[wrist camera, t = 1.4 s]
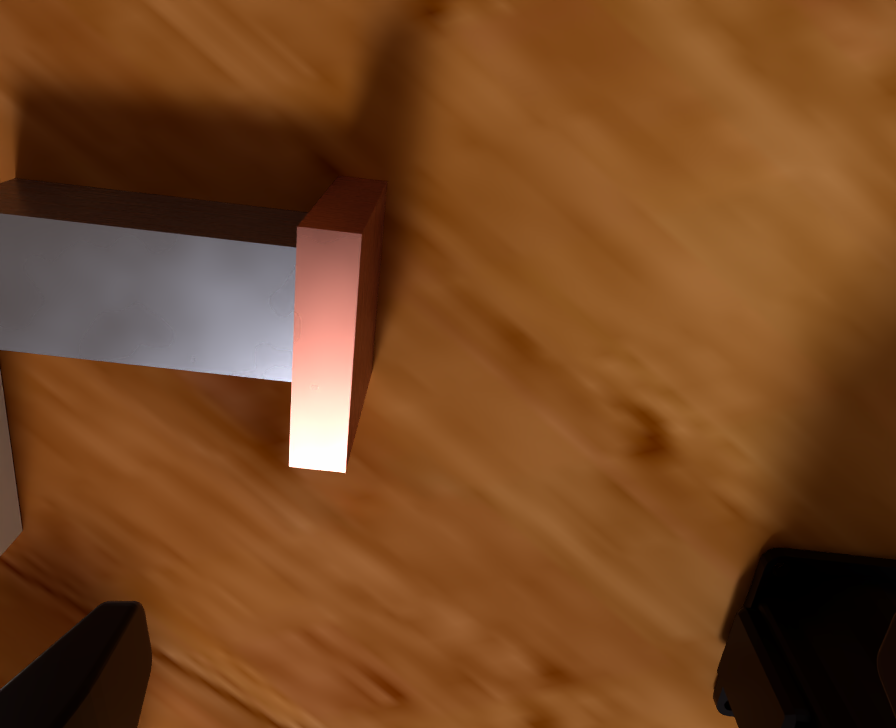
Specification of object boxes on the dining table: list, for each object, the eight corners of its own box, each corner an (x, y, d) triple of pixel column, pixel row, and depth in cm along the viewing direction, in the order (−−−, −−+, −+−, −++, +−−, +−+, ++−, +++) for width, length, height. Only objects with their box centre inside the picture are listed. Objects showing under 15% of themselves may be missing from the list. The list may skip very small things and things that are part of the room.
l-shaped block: (387, 181, 19) (362, 234, 14) (371, 371, 21) (345, 472, 16) (11, 136, 19) (-142, 175, 14) (33, 333, 21) (-93, 425, 16)
